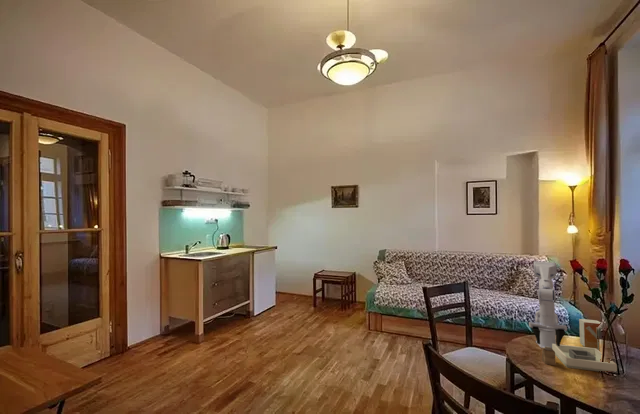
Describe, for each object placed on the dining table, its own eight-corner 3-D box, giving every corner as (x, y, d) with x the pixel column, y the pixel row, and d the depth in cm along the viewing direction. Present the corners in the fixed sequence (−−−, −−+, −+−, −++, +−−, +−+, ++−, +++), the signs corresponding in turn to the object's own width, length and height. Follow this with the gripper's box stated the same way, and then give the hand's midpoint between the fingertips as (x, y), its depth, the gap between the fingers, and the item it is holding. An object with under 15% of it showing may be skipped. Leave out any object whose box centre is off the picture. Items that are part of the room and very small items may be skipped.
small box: (584, 347, 164) (583, 322, 165) (579, 343, 170) (578, 318, 171) (604, 349, 161) (603, 323, 162) (598, 345, 167) (597, 320, 168)
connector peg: (542, 360, 149) (541, 345, 149) (552, 361, 148) (551, 346, 148) (545, 364, 145) (544, 348, 146) (555, 365, 144) (555, 349, 144)
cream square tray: (552, 351, 159) (552, 343, 159) (596, 356, 153) (596, 348, 153) (566, 367, 142) (566, 358, 142) (617, 373, 136) (616, 364, 136)
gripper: (531, 315, 146) (532, 345, 146) (569, 318, 141) (570, 349, 141) (527, 311, 153) (528, 340, 152) (563, 314, 148) (564, 343, 147)
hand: (548, 344), depth 147 cm, fingers open, 7 cm apart
